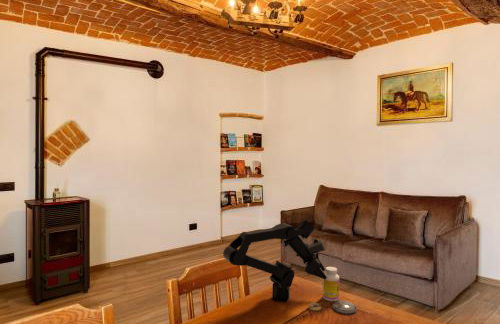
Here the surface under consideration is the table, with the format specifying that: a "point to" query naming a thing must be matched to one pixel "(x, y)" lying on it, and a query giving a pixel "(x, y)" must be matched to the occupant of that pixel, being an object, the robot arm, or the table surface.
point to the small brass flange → (315, 307)
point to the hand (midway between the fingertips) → (325, 274)
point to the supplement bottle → (331, 284)
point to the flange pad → (344, 307)
